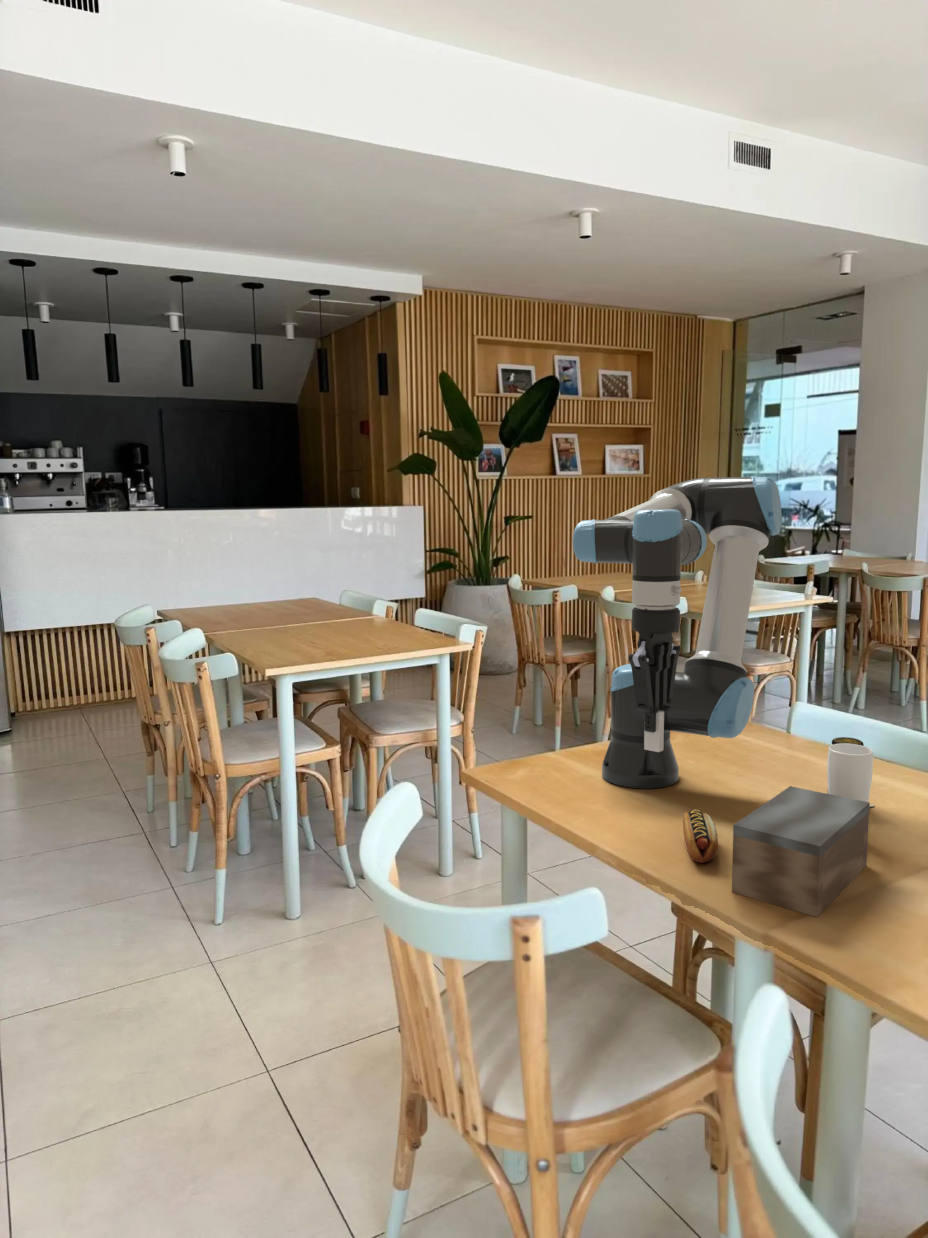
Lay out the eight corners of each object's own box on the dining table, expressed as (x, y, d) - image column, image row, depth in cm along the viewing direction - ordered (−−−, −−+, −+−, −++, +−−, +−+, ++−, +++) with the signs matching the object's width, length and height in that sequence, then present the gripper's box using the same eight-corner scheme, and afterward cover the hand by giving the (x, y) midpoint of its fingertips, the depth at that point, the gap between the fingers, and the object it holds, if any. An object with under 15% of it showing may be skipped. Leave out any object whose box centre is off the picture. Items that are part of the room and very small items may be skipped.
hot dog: (711, 836, 145) (712, 807, 144) (721, 870, 132) (722, 838, 131) (680, 834, 146) (681, 806, 145) (687, 868, 133) (688, 837, 132)
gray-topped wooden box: (731, 891, 124) (733, 825, 123) (788, 845, 140) (790, 786, 139) (816, 917, 116) (819, 846, 115) (866, 865, 132) (869, 802, 131)
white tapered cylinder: (816, 830, 146) (820, 743, 144) (855, 828, 147) (859, 742, 145) (837, 846, 139) (841, 756, 137) (877, 844, 140) (882, 754, 138)
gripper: (656, 612, 131) (654, 763, 135) (696, 604, 141) (693, 745, 144) (613, 609, 136) (612, 754, 140) (655, 601, 146) (653, 737, 149)
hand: (653, 749), depth 142 cm, fingers closed
